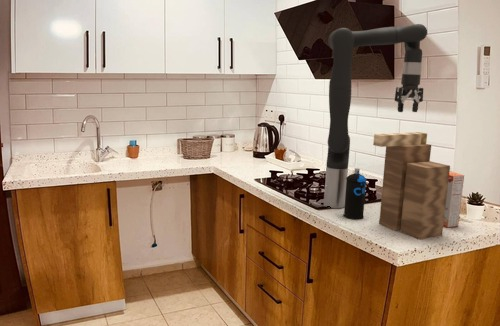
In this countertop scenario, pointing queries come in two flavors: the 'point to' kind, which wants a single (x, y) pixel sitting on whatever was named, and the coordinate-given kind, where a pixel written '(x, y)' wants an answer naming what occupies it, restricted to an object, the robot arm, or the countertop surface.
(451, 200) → the cracker box
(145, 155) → the countertop surface
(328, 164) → the robot arm
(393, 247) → the countertop surface
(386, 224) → the brown stepped wooden block
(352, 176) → the aerosol can
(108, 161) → the countertop surface
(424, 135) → the maple bar
